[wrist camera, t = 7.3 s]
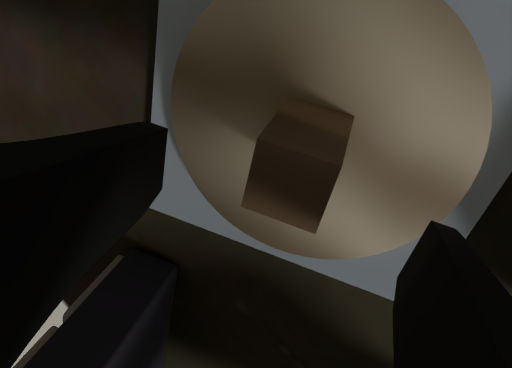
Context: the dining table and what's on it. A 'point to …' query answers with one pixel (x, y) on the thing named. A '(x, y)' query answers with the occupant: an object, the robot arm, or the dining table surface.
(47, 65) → the dining table surface
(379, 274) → the mat
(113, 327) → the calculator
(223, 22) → the lid
